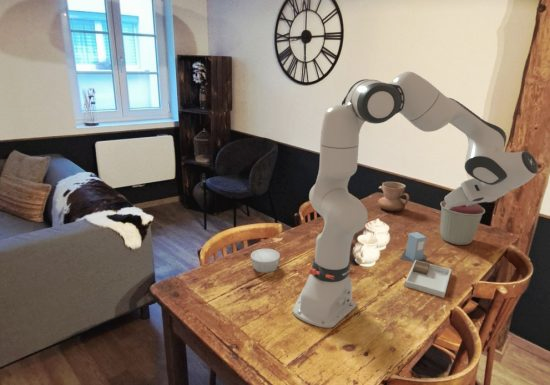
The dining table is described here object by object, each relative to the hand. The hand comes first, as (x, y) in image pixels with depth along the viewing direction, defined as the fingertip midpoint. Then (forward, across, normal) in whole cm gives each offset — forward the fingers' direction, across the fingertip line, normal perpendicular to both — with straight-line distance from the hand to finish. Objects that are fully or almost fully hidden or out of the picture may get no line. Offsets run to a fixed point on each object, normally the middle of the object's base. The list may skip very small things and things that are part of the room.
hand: (457, 205), depth 129 cm
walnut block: (+25, +4, +15) cm, 30 cm away
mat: (+32, -1, +9) cm, 34 cm away
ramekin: (+43, +59, -1) cm, 73 cm away
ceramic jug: (+67, -29, -25) cm, 77 cm away
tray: (+21, +6, +20) cm, 30 cm away
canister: (+38, -32, +4) cm, 49 cm away
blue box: (+32, -1, +9) cm, 33 cm away
